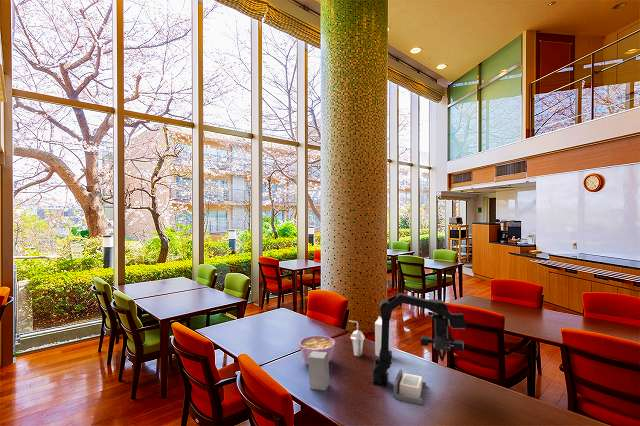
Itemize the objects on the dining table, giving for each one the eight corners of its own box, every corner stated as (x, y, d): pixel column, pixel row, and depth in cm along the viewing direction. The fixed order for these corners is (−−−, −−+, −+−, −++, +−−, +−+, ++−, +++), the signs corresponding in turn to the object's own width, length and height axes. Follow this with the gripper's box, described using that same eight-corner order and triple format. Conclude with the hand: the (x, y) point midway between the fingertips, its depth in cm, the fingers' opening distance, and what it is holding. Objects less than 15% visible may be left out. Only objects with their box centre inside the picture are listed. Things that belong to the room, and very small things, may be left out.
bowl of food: (293, 368, 173) (292, 346, 173) (308, 353, 192) (308, 333, 192) (328, 374, 166) (327, 352, 166) (340, 358, 184) (340, 337, 184)
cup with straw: (361, 358, 183) (361, 323, 183) (347, 355, 188) (346, 321, 188) (367, 352, 191) (366, 319, 191) (353, 349, 195) (352, 316, 195)
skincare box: (329, 384, 156) (329, 351, 156) (325, 392, 149) (324, 358, 150) (313, 381, 159) (312, 349, 159) (308, 389, 152) (307, 355, 152)
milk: (383, 358, 183) (382, 319, 183) (375, 355, 188) (374, 317, 188) (390, 355, 186) (389, 317, 186) (382, 352, 191) (381, 315, 191)
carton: (399, 395, 146) (399, 383, 146) (404, 383, 156) (403, 372, 156) (419, 399, 143) (418, 387, 143) (422, 387, 153) (422, 376, 153)
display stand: (393, 398, 143) (393, 385, 143) (400, 380, 158) (400, 368, 158) (421, 404, 138) (421, 390, 138) (426, 385, 153) (426, 373, 153)
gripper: (418, 331, 149) (419, 365, 149) (462, 336, 141) (463, 372, 141) (421, 323, 159) (422, 355, 159) (463, 328, 151) (464, 361, 151)
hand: (442, 361), depth 152 cm, fingers closed
